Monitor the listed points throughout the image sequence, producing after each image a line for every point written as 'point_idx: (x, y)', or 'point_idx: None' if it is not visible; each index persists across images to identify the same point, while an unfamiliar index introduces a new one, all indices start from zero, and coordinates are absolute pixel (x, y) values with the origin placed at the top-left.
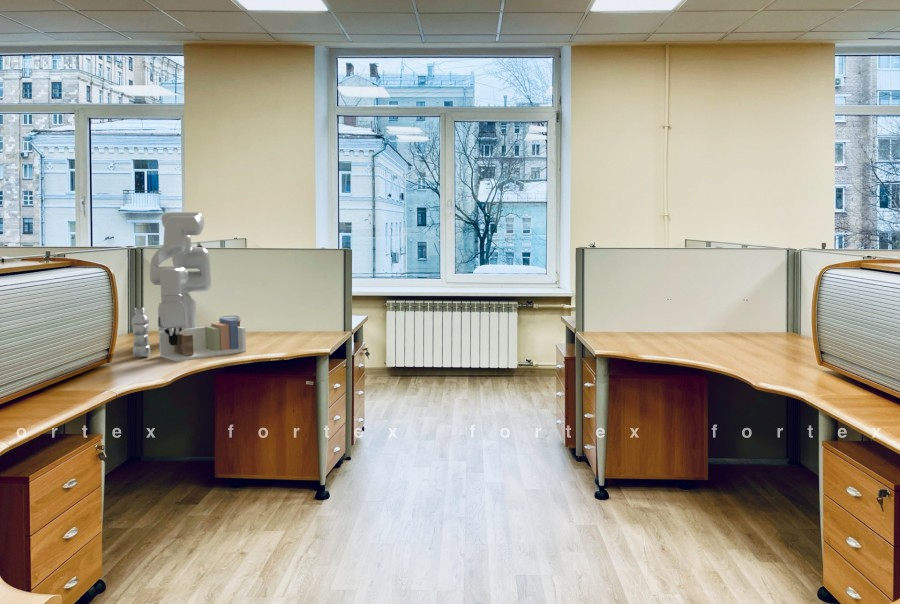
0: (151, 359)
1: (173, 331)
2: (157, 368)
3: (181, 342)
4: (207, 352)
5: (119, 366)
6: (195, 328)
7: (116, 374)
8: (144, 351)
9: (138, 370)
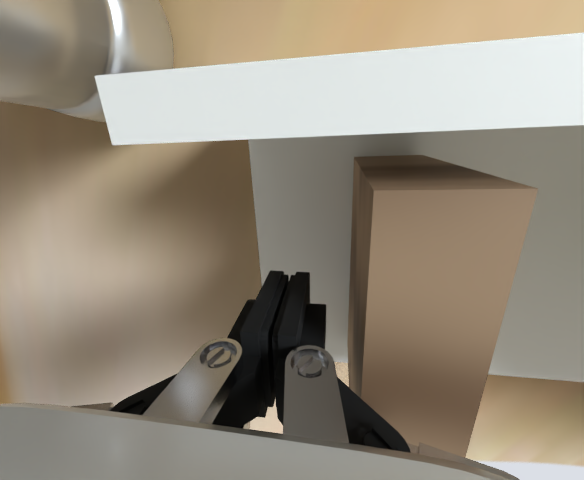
0: (177, 191)
1: (285, 390)
2: None
3: (353, 353)
4: (540, 317)
5: (15, 263)
6: None
7: (21, 393)
8: (105, 120)
9: (93, 391)
